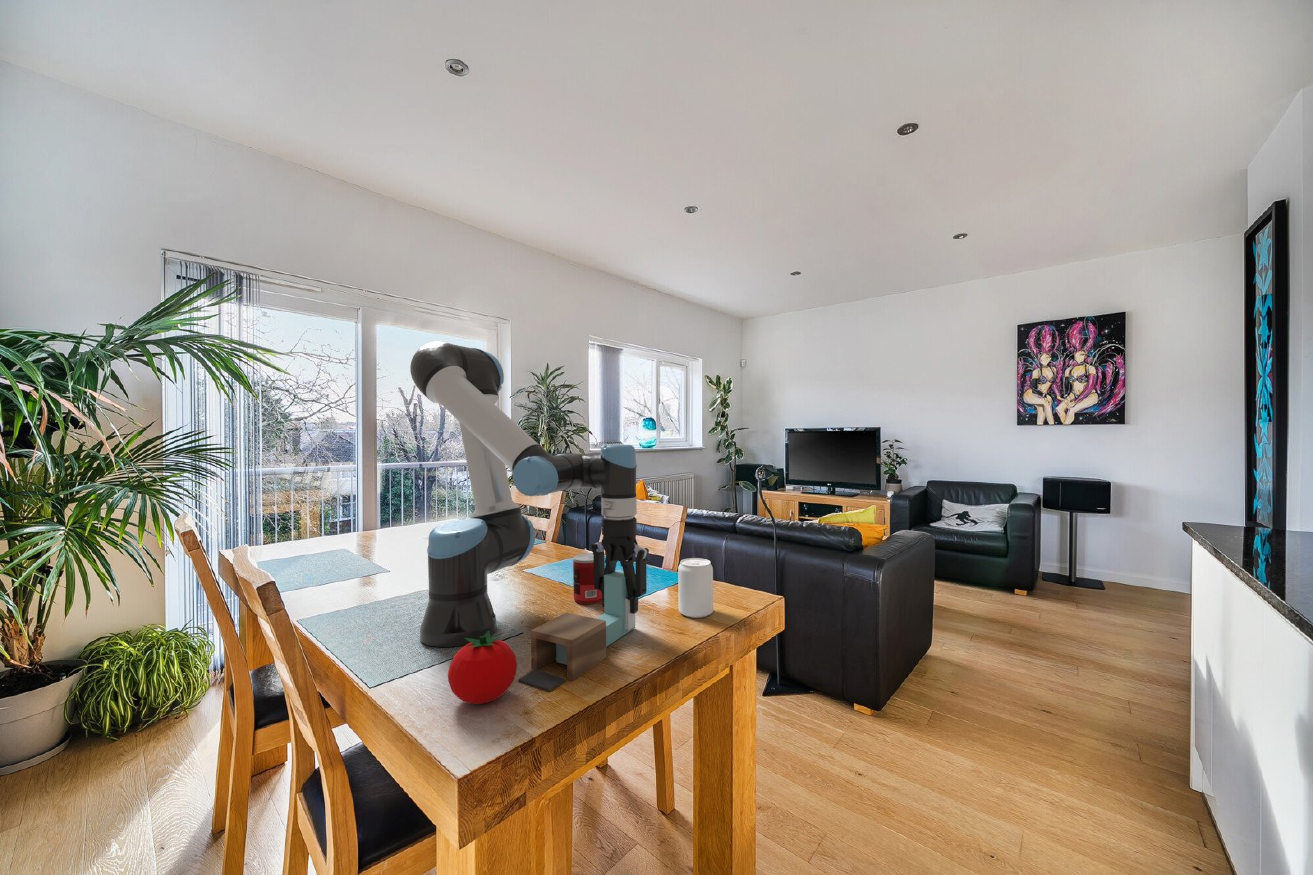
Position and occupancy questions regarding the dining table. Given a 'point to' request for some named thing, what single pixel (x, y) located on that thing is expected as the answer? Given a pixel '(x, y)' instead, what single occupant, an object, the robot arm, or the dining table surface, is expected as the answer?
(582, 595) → the canned food
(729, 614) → the dining table surface
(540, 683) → the pad
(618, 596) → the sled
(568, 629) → the tunnel
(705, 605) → the beverage can
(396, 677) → the dining table surface
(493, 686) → the tomato
